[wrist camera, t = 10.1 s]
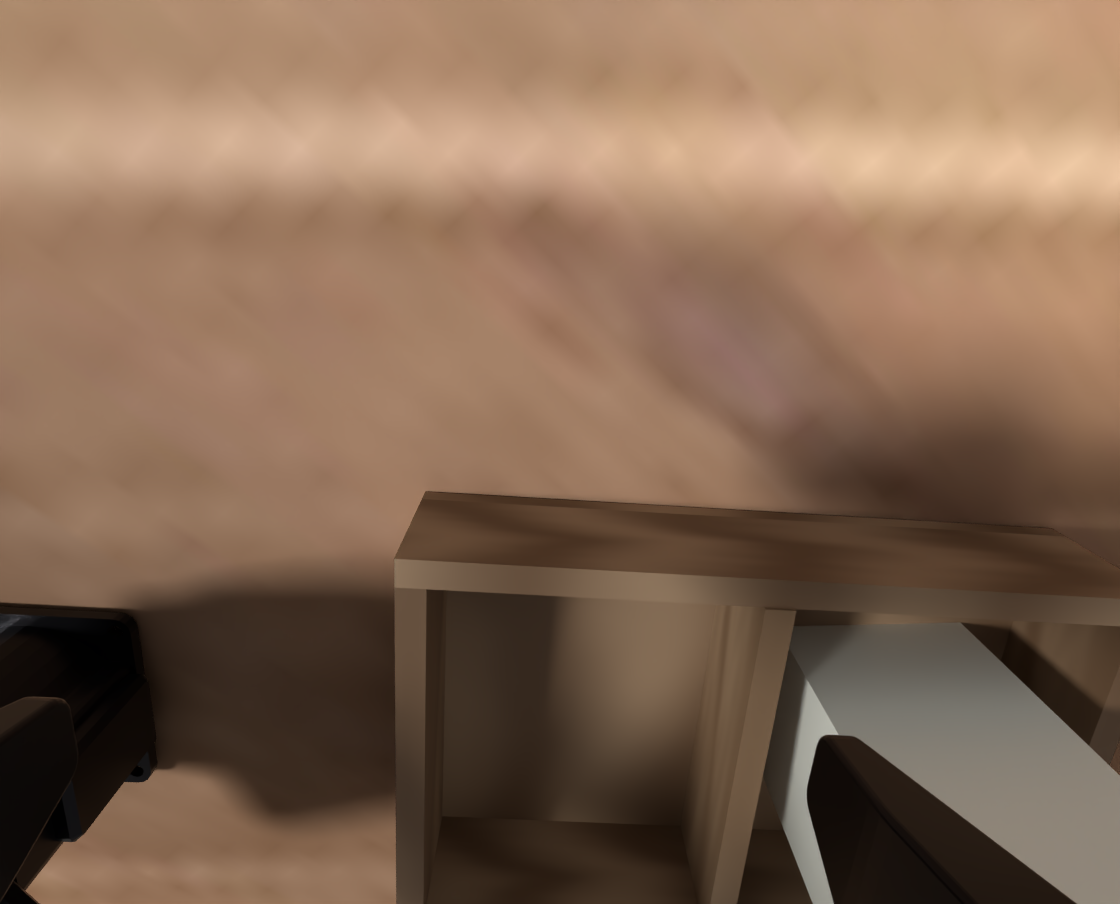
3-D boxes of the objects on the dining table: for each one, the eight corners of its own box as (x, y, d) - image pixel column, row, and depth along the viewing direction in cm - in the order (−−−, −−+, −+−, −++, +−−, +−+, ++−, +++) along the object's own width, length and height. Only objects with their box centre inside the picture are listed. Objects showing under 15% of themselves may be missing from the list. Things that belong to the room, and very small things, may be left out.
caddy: (762, 774, 24) (902, 1133, 14) (776, 626, 22) (948, 927, 13) (931, 770, 24) (1181, 1124, 15) (960, 622, 22) (1269, 918, 13)
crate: (422, 819, 25) (396, 943, 21) (425, 491, 21) (393, 560, 17) (951, 840, 26) (1033, 965, 22) (1052, 528, 22) (1178, 603, 17)
